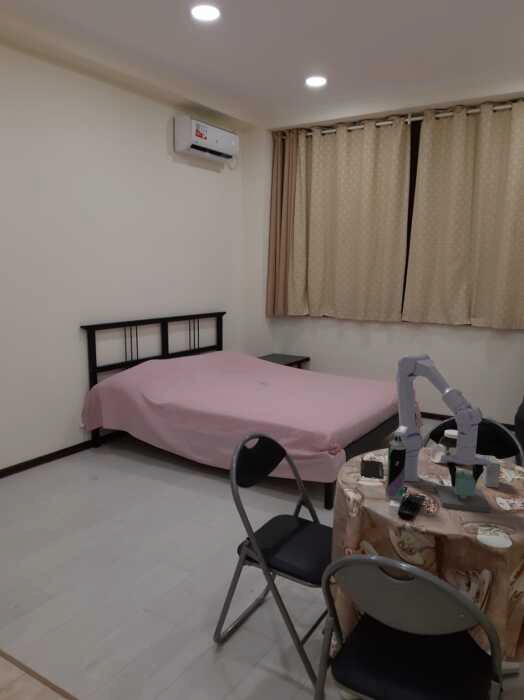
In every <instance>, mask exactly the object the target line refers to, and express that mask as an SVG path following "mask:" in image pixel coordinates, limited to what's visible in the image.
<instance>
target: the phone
mask: <svg viewBox="0 0 524 700" xmlns="http://www.w3.org/2000/svg"><path fill="white" fill-rule="evenodd" d="M383 472H384V471H383V462H381V461H378V460H377V461H376V460H367V459H362V460H361V461H360V473H359V476H360V475H361V476H360V477H362V476H364V477H363V478H369V477H375V478H374V479H379V478H381V479H383V476H384V474H383Z"/></svg>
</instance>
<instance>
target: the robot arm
mask: <svg viewBox="0 0 524 700" xmlns="http://www.w3.org/2000/svg"><path fill="white" fill-rule="evenodd" d="M418 376H420V377H423V378H426V379H427V380H428V381H429V382H430V383H431V384H432V386H434V388H436V389H437V390H438V392H440V393H441V401H442V402H443V403H444V404H445V405H446V407H447V408H448V409H449V410H450V411H451V412H452V413H453V415H454V420H455V423H456V426H457V428H456V430H457V431H458V433H457V446H456V455H448V456H443V455H441V458H440V461H441V463H440V464H446V466H447V469H448V471H449V476H450V481H451V486H455V475H456V470H457V467H456V466H457V465H455V464H458V465H465V466H469V465H470V466H472V471H471V474H472V476H473V477H474V479H475V487H476V486H477V483H478V481H479V479H480V475H481V474H482V473H483V471H484V468H483V466H486V467H490V460H489V459H482V457H481V458H480V457H476V450H477V443H478V430H479V424H481V422H482V421H483V413H482V410H481V409H480V408H479V407H478V406H476V405H473V404H472V403H471V402H470V401H468V400H467V399H466V398H465V397H464V395H463V393H462V391H461V390H460V389H458V388H456V387H451V386H450V385H449V383H448V382H447V381H446V379H445V378H444V376H443V375H442V374H441V372H439V370H438V368H437V367H436V365H435V362H434V360H433V359H432V358H431V357H430V355H428V354H427V353H424V352H422V353H418V354H405V355H403V356H402V357H401V358H399V360H397V373H396V378H395V379H396V392H397V393H396V394H397V408H398V420H399V421H398V422H399V424H398V425H399V426H398V428H397V429H396V430H395V431H394V437H395V436H401V440H402V441H403V442H404V443H406V459H405V474H404V482H412V483H419V482H420V480H419V477H418V476H419V475H418V464H419V463H418V462H419V454H420V451H421V450H422V449H423V447H424V443H425V442H424V438H423V436H422V432H421V430H422V429H420V428H419V427H418V426H417V422H416V421H417V420H416V410H415V409H416V408H415V407H416V406H415V394H414V393H415V391H414V380H416V378H418Z"/></svg>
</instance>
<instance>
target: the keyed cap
mask: <svg viewBox="0 0 524 700" xmlns="http://www.w3.org/2000/svg"><path fill="white" fill-rule="evenodd" d="M451 486H452V485H451ZM452 487H453V489H454V491H455V494H456V495H465V496H474V493H475V489H476V486H475V479H474V477H473V476H472V471H468V470H457V469H456V475H455V486H452Z"/></svg>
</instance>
